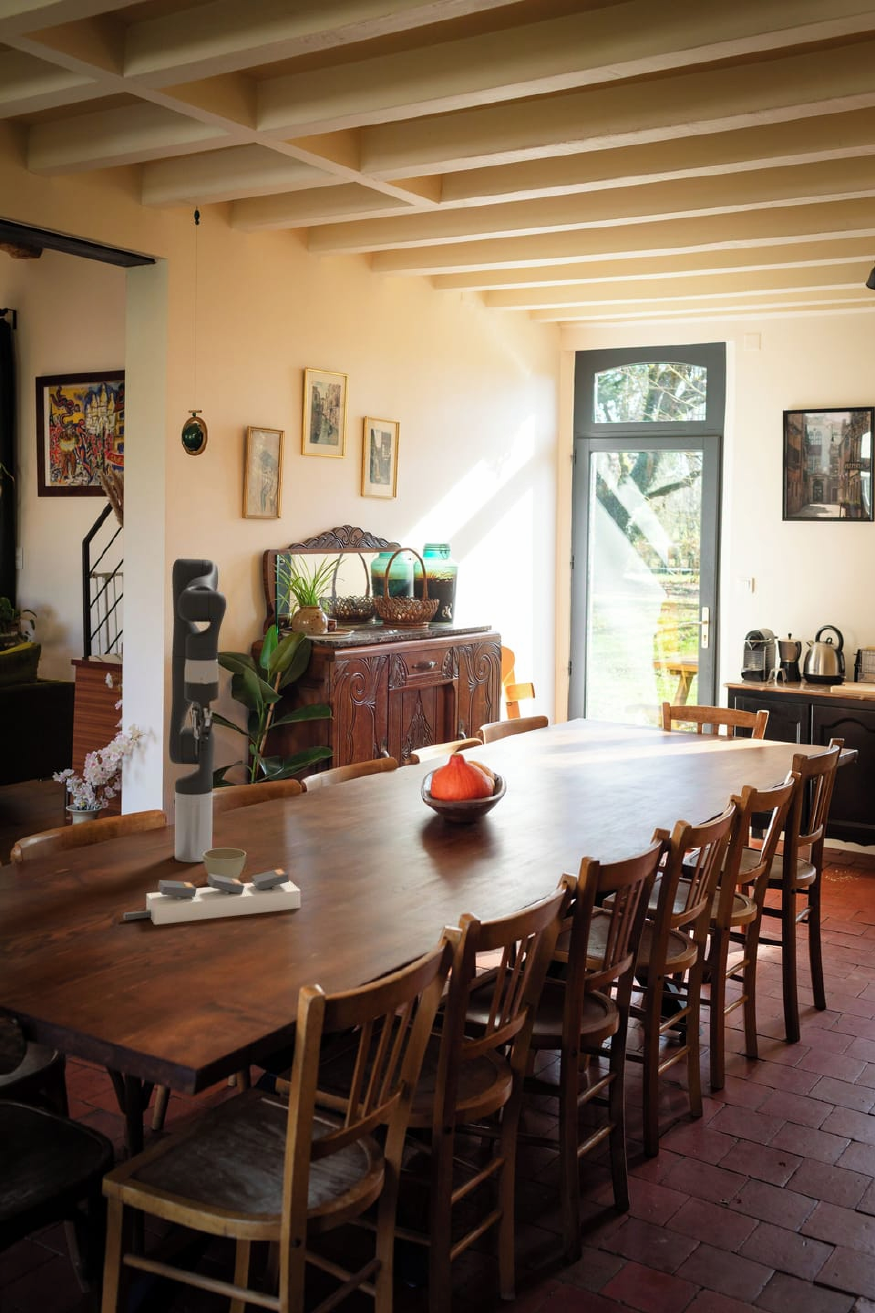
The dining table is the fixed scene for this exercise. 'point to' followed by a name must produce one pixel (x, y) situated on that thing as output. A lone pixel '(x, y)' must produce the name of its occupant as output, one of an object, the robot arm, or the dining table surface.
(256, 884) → the block
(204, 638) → the robot arm
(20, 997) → the dining table surface
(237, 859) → the flower pot
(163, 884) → the rocker
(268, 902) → the power strip
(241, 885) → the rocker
